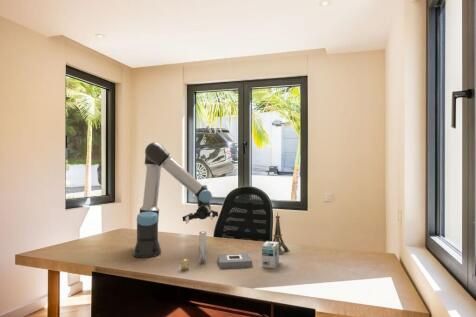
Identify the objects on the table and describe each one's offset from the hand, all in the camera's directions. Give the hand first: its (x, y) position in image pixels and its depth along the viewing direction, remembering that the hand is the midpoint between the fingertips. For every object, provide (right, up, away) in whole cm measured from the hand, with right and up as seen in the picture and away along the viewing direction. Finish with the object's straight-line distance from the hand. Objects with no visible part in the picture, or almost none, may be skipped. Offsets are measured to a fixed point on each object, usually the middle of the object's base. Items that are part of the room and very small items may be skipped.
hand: (198, 219), depth 172 cm
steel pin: (+3, -21, -8) cm, 23 cm away
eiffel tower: (+45, -22, +13) cm, 51 cm away
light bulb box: (+38, -21, -11) cm, 45 cm away
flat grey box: (+19, -21, -9) cm, 30 cm away
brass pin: (-4, -21, -18) cm, 28 cm away
